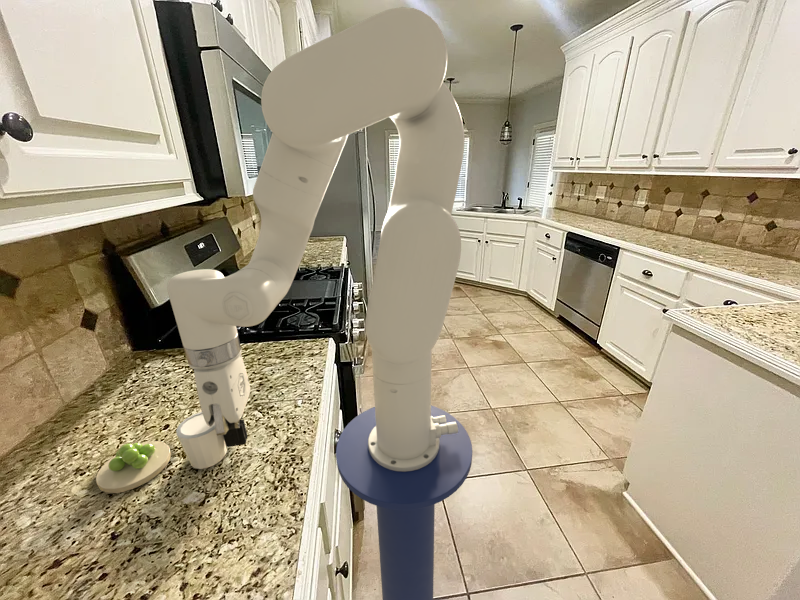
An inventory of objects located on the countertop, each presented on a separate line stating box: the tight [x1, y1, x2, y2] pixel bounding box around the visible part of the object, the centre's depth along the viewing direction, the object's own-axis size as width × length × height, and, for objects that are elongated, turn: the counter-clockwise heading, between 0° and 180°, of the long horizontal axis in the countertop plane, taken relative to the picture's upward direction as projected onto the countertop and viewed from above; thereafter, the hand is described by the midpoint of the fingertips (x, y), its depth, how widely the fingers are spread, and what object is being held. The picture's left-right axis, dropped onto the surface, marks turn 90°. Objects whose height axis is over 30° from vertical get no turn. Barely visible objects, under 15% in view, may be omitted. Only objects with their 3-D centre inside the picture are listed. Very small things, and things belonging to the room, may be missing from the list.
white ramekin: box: [175, 411, 228, 470], centre depth 58 cm, size 7×7×7 cm
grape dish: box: [95, 440, 172, 494], centre depth 57 cm, size 10×10×5 cm
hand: (237, 442), depth 60 cm, fingers closed
